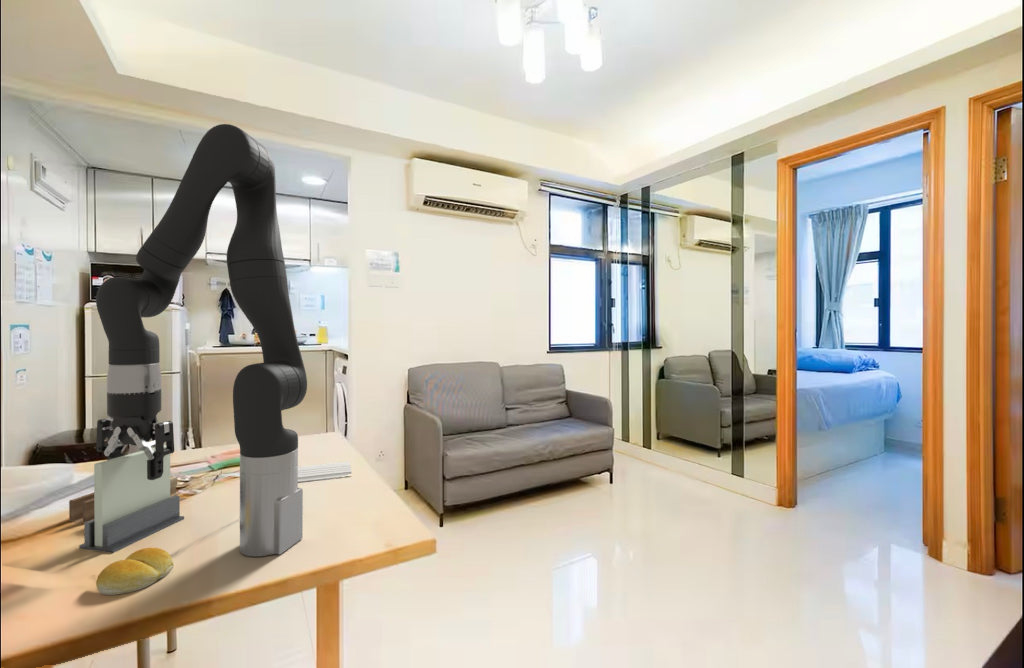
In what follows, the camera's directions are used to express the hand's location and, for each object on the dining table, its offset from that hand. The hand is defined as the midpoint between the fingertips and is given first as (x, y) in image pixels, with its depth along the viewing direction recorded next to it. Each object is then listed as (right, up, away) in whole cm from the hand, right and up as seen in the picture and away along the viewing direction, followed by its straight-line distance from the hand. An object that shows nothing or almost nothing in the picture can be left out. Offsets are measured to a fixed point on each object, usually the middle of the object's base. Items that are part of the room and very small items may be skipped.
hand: (135, 476), depth 80 cm
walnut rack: (-10, -11, +10) cm, 18 cm away
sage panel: (0, -10, 0) cm, 10 cm away
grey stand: (0, -12, 0) cm, 12 cm away
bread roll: (+10, -13, -11) cm, 20 cm away
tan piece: (-6, -10, +9) cm, 15 cm away
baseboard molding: (+11, -12, +33) cm, 37 cm away
